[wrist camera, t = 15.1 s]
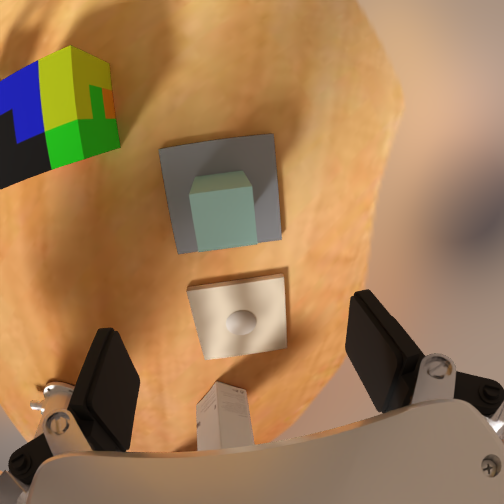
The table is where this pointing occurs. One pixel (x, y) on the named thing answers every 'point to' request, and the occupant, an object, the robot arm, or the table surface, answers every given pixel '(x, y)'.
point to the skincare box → (223, 419)
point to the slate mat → (214, 162)
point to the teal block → (223, 211)
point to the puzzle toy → (55, 114)
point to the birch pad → (240, 316)
